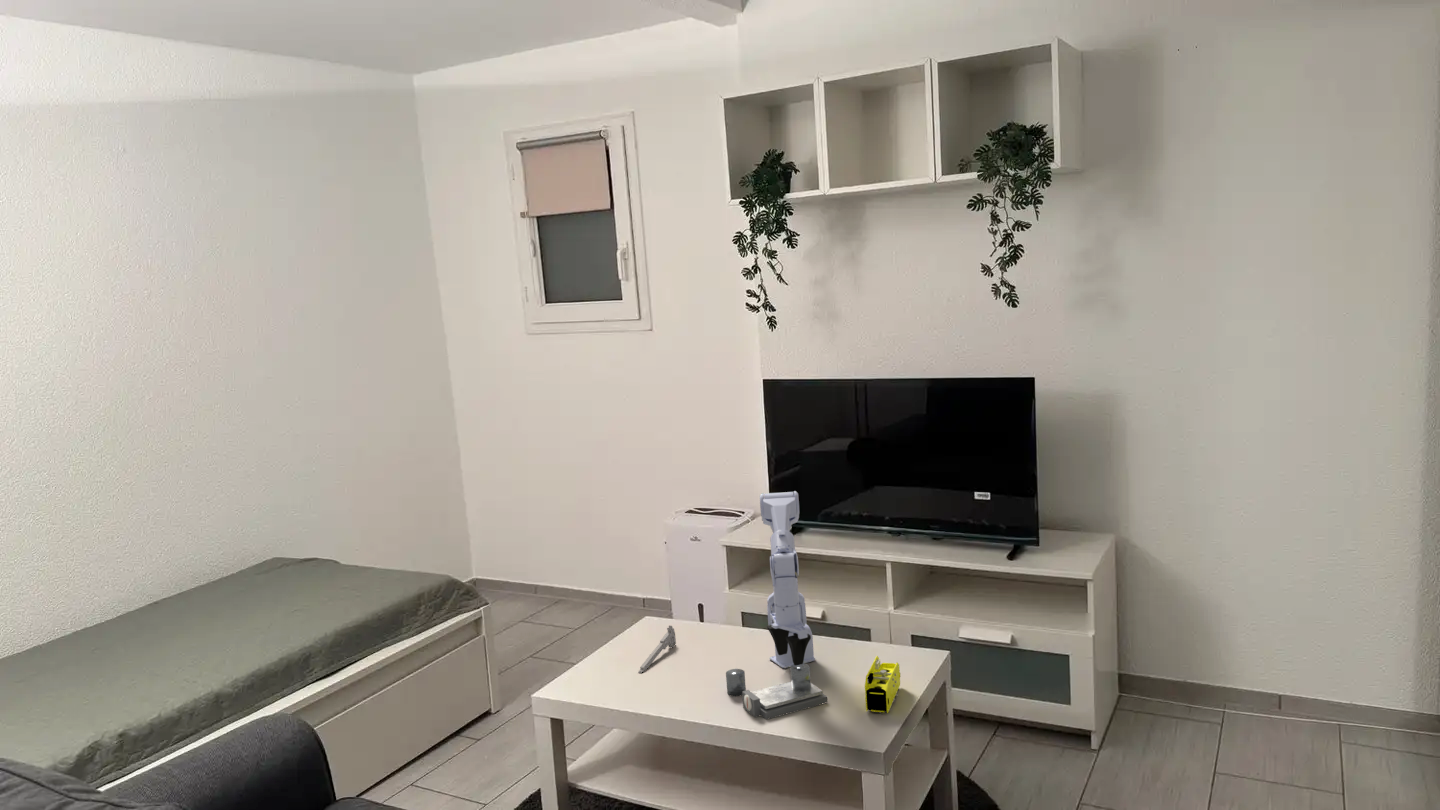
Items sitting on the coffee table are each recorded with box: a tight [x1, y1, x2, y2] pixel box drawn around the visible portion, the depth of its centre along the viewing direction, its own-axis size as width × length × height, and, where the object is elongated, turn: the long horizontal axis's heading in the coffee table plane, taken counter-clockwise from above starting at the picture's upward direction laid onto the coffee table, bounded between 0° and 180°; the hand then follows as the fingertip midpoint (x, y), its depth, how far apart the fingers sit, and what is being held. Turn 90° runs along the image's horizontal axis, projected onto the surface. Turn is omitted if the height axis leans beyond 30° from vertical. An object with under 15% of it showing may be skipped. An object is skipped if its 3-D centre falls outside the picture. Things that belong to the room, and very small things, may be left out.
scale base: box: [741, 689, 828, 720], centre depth 242 cm, size 18×11×4 cm, turn 115°
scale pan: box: [751, 681, 824, 710], centre depth 243 cm, size 15×9×1 cm, turn 115°
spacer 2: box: [789, 663, 812, 691], centre depth 244 cm, size 4×4×5 cm
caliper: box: [638, 625, 677, 674], centre depth 276 cm, size 20×1×6 cm, turn 157°
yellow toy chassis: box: [864, 655, 901, 714], centre depth 240 cm, size 16×6×8 cm, turn 160°
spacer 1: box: [725, 668, 747, 697], centre depth 251 cm, size 4×4×5 cm
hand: (790, 659), depth 245 cm, fingers open, 7 cm apart
